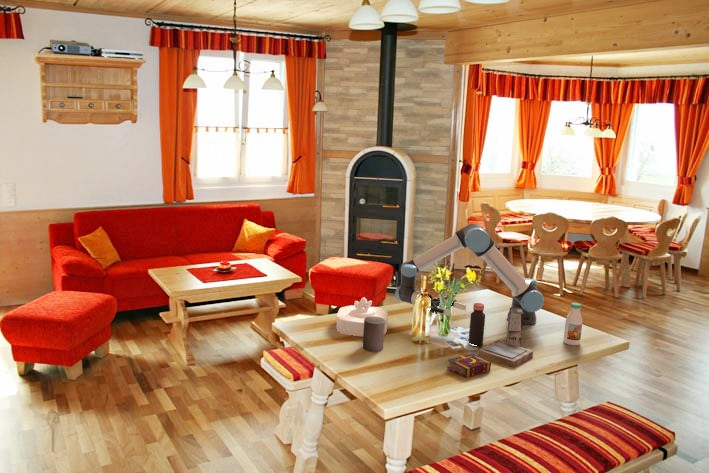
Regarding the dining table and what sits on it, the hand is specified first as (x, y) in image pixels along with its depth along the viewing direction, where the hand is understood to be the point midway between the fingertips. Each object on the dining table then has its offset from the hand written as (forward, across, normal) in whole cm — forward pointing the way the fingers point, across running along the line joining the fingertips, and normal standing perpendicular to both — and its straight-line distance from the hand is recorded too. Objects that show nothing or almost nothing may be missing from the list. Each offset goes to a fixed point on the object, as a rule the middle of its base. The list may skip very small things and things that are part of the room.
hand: (457, 310), depth 300 cm
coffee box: (+22, -17, -14) cm, 31 cm away
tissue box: (-40, +23, -16) cm, 49 cm away
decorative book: (+25, +28, -15) cm, 40 cm away
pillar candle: (-19, +40, -15) cm, 46 cm away
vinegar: (+11, 0, -14) cm, 18 cm away
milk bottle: (+42, -38, -14) cm, 59 cm away
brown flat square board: (+28, +2, -14) cm, 31 cm away
